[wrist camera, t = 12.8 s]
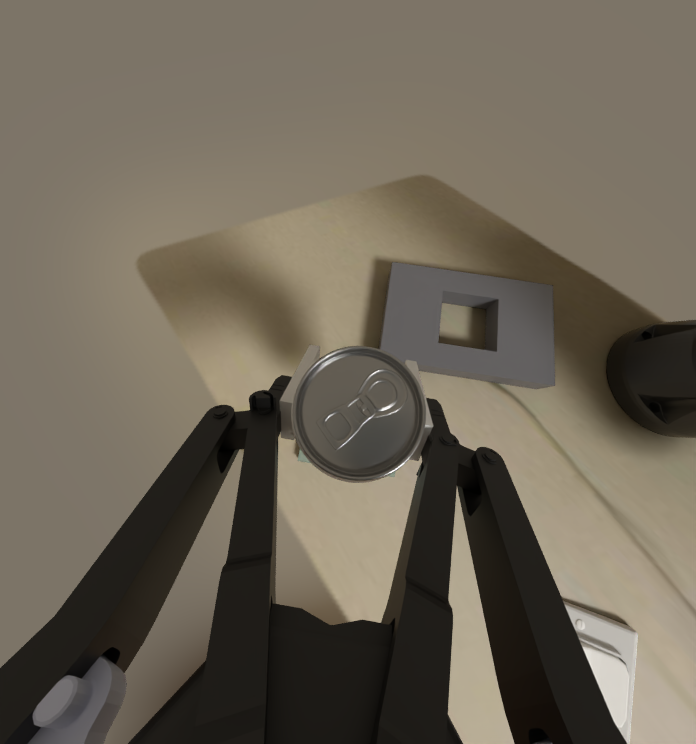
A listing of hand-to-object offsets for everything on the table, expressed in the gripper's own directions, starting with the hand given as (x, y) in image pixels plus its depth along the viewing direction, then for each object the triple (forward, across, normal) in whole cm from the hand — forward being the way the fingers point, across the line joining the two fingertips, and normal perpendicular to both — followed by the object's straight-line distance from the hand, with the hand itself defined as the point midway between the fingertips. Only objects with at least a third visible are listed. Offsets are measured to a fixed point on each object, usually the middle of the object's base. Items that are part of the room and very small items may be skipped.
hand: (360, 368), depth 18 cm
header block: (+19, +14, -2) cm, 23 cm away
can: (+1, 0, -6) cm, 6 cm away
